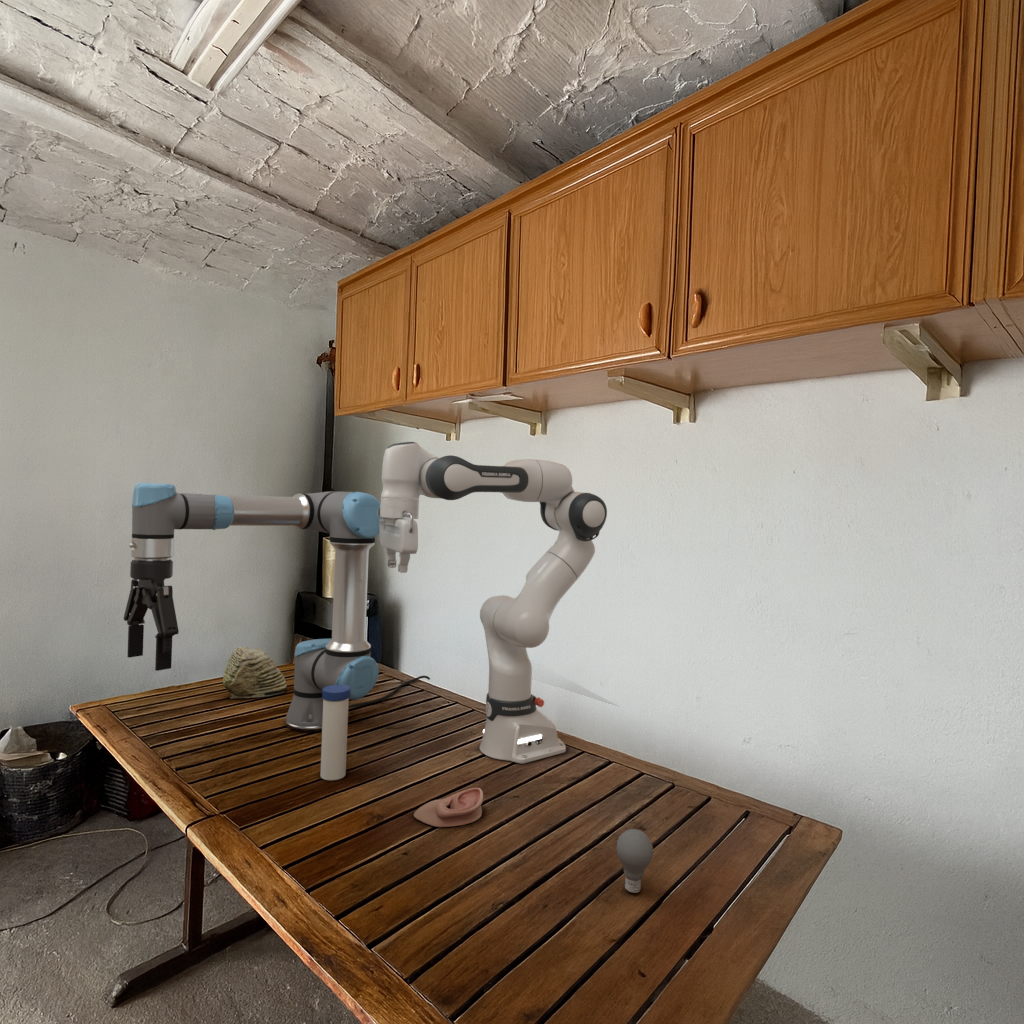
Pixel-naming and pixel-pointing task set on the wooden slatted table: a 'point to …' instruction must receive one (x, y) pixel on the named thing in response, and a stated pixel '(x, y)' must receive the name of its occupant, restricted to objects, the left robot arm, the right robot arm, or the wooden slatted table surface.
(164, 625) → the left robot arm
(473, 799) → the anatomical model
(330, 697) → the lid
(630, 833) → the light bulb
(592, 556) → the right robot arm
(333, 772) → the bottle
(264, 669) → the fossil
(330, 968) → the wooden slatted table surface
